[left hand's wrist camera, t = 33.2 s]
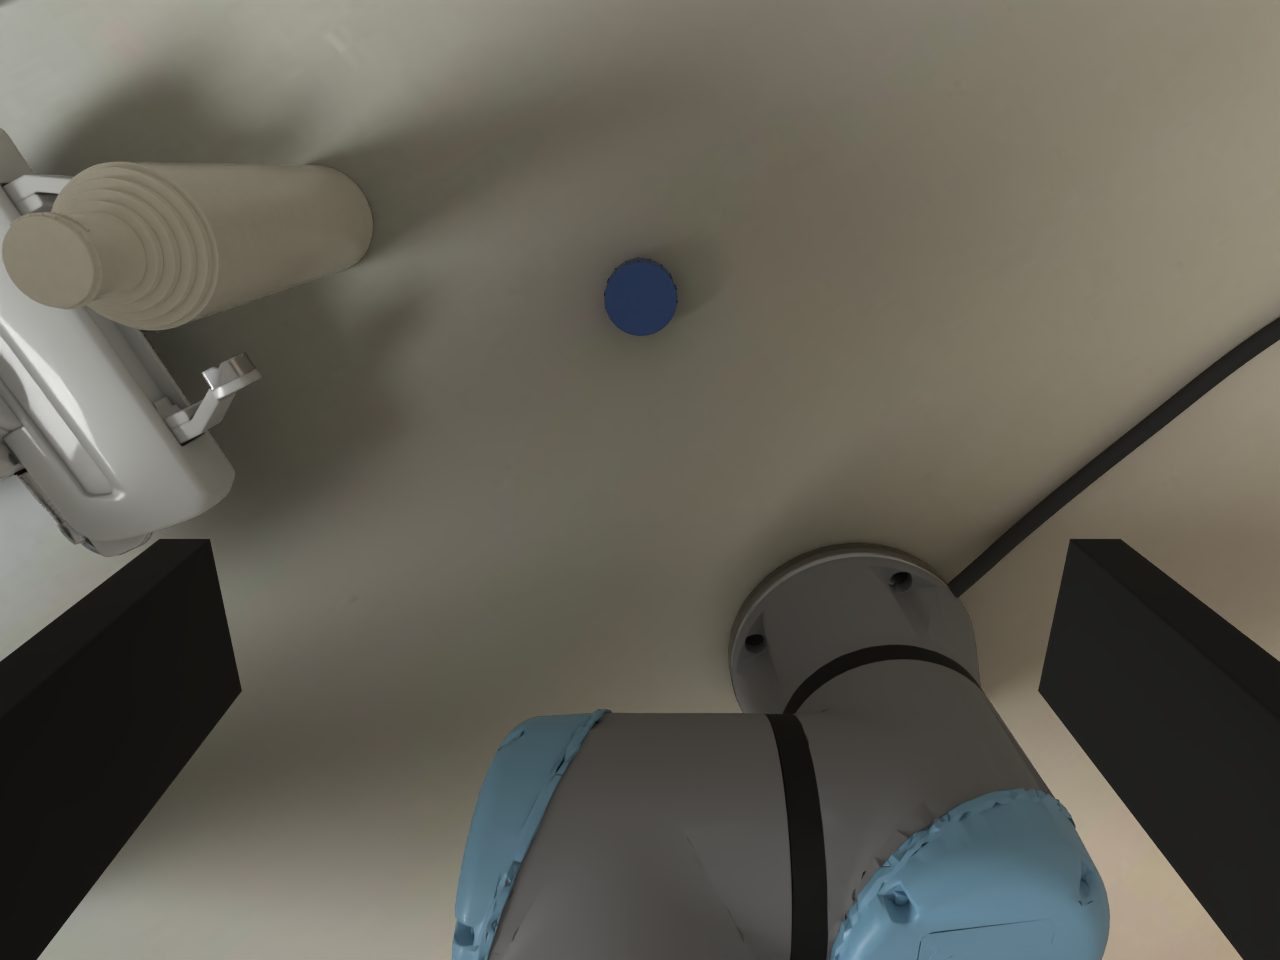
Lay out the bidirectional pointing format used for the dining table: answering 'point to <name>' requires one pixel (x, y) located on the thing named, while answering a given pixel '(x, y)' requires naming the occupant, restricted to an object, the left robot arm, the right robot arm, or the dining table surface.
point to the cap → (640, 297)
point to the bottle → (186, 238)
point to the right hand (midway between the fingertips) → (191, 276)
